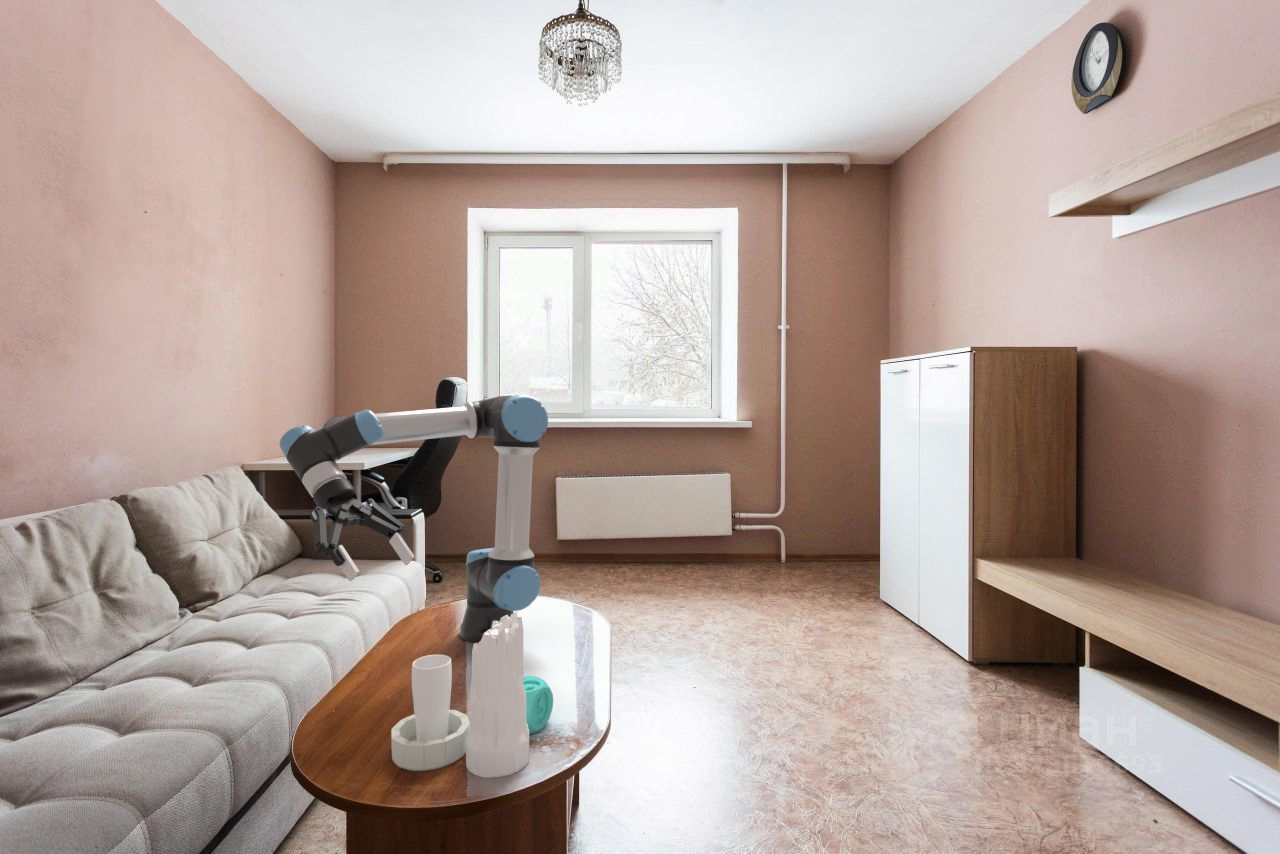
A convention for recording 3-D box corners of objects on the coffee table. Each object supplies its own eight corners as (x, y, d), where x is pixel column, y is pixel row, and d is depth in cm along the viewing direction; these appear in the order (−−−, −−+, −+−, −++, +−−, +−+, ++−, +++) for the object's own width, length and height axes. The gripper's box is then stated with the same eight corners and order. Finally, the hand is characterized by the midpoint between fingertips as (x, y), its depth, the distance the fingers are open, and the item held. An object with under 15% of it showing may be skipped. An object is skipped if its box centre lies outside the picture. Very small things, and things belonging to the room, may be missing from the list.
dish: (439, 725, 121) (439, 703, 121) (484, 746, 113) (484, 722, 113) (376, 754, 111) (376, 730, 111) (421, 780, 103) (421, 753, 103)
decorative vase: (470, 783, 102) (469, 630, 101) (461, 751, 112) (460, 611, 111) (536, 768, 106) (536, 621, 106) (522, 739, 116) (521, 603, 116)
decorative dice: (520, 711, 127) (520, 672, 127) (553, 720, 123) (553, 679, 123) (494, 729, 120) (494, 688, 119) (529, 739, 116) (529, 696, 116)
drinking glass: (405, 744, 112) (404, 661, 112) (440, 731, 117) (439, 651, 117) (423, 759, 108) (423, 672, 107) (459, 744, 113) (459, 661, 112)
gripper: (370, 493, 143) (421, 566, 137) (263, 509, 121) (317, 596, 114) (387, 471, 141) (439, 543, 134) (281, 482, 118) (337, 570, 112)
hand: (383, 568), depth 124 cm, fingers open, 13 cm apart
